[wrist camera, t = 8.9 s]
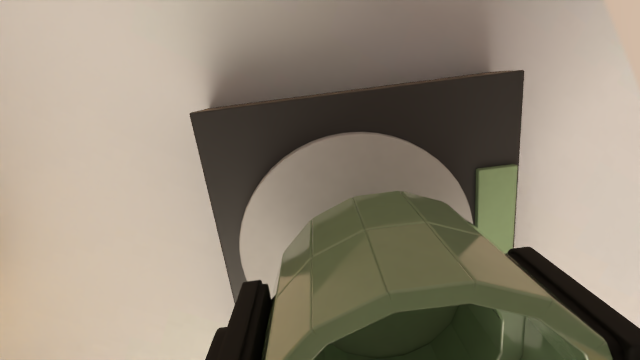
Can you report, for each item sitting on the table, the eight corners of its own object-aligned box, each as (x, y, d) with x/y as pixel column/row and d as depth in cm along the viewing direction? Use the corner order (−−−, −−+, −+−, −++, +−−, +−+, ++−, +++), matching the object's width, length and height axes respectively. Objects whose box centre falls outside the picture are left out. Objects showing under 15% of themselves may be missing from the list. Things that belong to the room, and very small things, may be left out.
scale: (491, 72, 15) (535, 69, 12) (483, 310, 18) (515, 352, 15) (208, 108, 15) (182, 114, 12) (258, 336, 18) (248, 383, 16)
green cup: (487, 173, 10) (655, 258, 5) (481, 354, 12) (597, 540, 7) (259, 201, 10) (210, 313, 5) (293, 377, 12) (280, 575, 7)
